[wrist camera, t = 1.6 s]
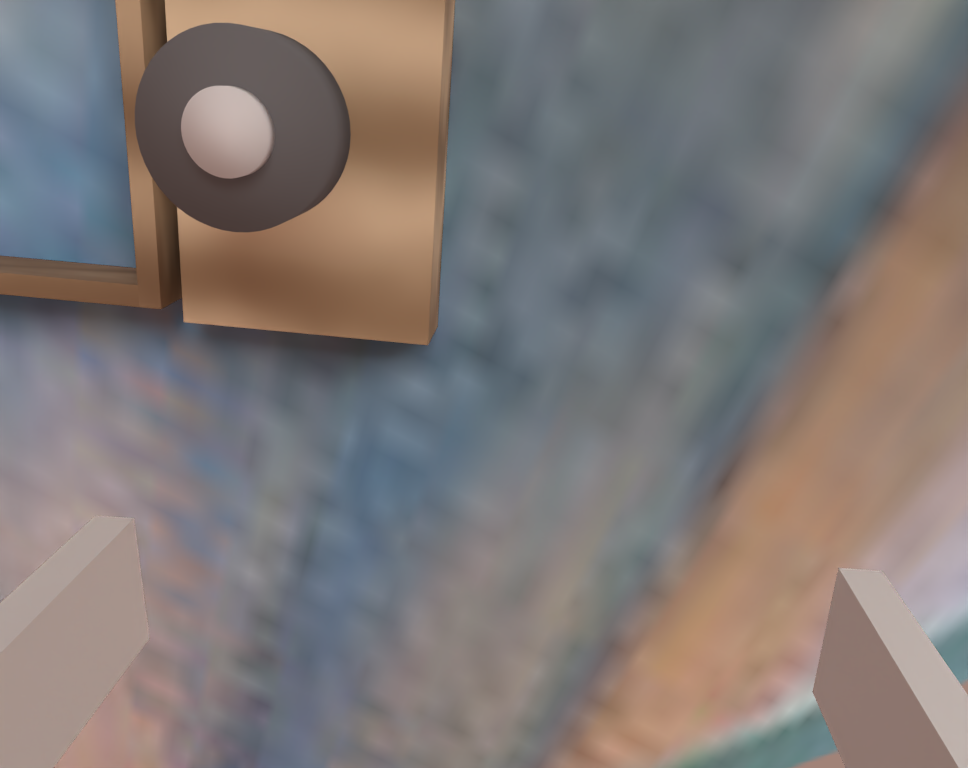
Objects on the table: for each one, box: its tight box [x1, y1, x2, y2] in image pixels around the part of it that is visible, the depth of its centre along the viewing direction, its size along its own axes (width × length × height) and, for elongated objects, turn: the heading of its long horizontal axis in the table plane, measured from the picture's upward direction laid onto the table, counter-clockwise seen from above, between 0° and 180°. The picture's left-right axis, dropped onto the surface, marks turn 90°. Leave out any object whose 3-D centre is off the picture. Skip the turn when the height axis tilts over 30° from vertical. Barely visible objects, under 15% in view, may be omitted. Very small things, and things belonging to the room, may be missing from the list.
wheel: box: [135, 23, 351, 232], centre depth 25 cm, size 6×6×3 cm
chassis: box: [0, 0, 455, 345], centre depth 33 cm, size 18×22×6 cm
